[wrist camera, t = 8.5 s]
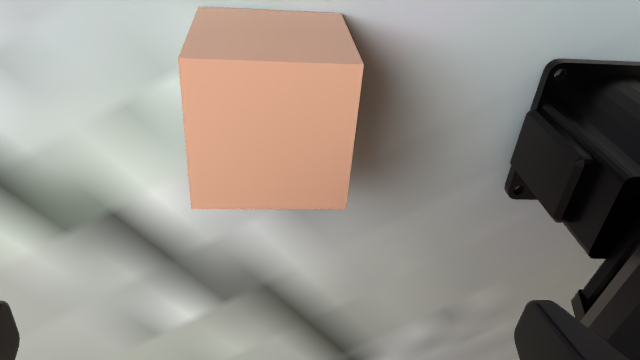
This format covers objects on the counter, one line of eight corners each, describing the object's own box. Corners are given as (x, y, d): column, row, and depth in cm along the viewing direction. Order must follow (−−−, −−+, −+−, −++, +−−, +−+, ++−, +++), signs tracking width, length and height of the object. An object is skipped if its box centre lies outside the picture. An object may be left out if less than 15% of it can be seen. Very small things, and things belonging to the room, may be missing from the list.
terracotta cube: (341, 13, 18) (363, 64, 14) (329, 135, 21) (345, 209, 17) (198, 6, 17) (177, 57, 13) (206, 133, 20) (191, 208, 16)
